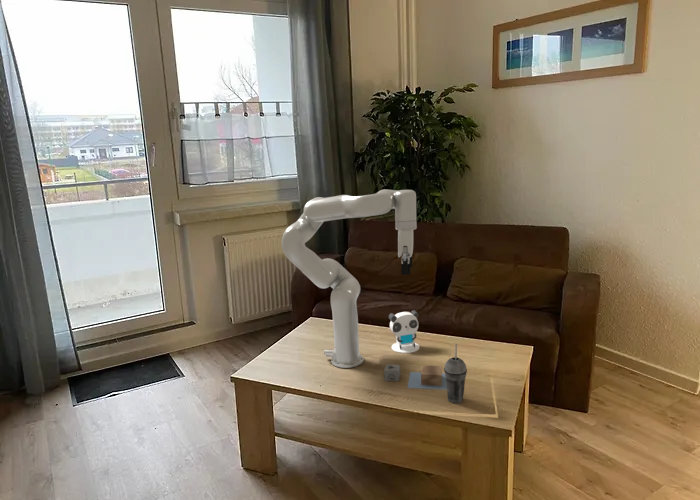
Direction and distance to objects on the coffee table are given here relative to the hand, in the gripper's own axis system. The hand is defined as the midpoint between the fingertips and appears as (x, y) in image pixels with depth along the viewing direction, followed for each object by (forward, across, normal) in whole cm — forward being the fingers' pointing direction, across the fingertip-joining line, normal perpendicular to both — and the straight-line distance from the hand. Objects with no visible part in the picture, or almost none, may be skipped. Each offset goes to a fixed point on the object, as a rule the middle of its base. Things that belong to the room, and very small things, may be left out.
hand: (406, 270), depth 193 cm
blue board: (+37, +15, +9) cm, 41 cm away
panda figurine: (+37, -15, -3) cm, 40 cm away
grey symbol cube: (+37, +14, -5) cm, 40 cm away
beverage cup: (+37, +28, +17) cm, 49 cm away
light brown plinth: (+36, +15, +9) cm, 40 cm away
